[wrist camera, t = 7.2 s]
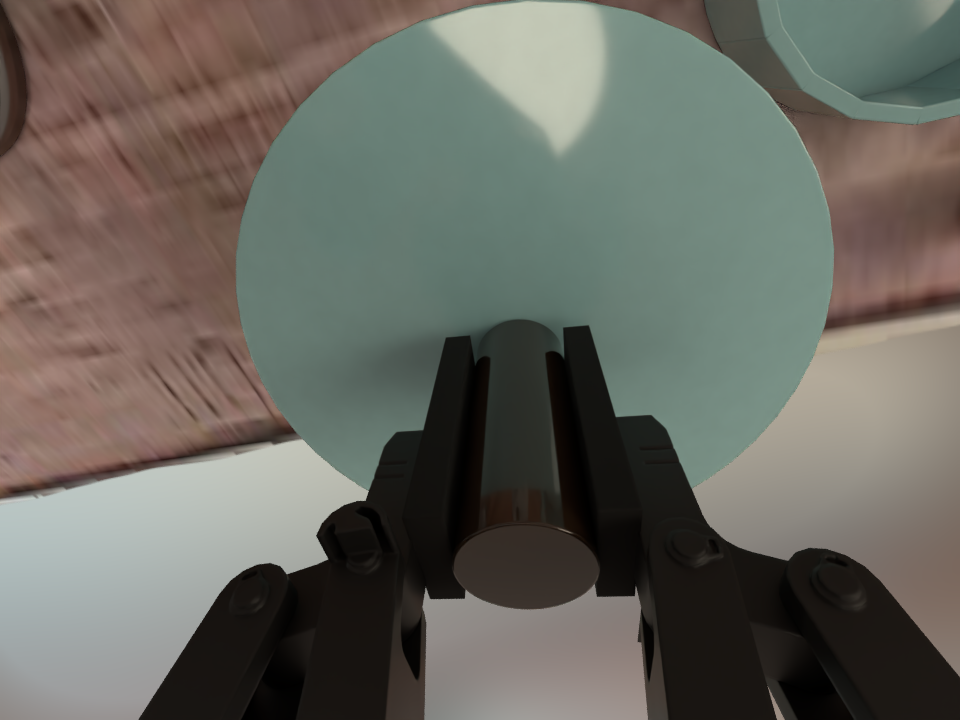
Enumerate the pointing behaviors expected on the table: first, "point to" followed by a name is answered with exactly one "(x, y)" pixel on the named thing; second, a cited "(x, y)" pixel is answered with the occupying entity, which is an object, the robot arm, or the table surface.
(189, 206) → the table surface
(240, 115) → the table surface
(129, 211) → the table surface
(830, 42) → the pan
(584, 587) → the pan lid
